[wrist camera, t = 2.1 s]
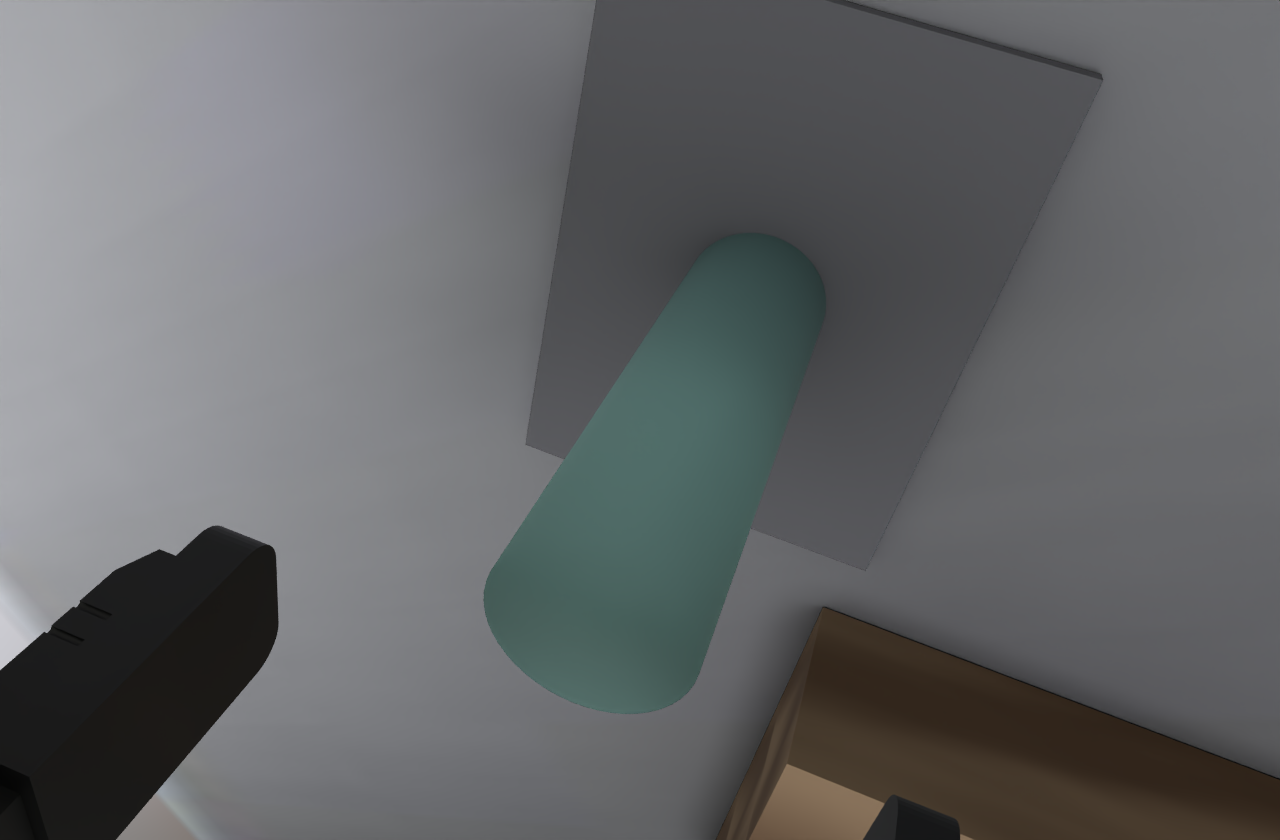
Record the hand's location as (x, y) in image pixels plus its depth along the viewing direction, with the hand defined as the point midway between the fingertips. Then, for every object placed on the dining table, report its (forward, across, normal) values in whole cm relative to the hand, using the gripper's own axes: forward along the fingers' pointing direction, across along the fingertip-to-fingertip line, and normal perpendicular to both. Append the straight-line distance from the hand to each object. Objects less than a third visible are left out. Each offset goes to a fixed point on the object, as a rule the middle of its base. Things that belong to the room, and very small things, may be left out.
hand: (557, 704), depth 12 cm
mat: (+11, 0, 0) cm, 11 cm away
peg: (+11, 0, 0) cm, 11 cm away
